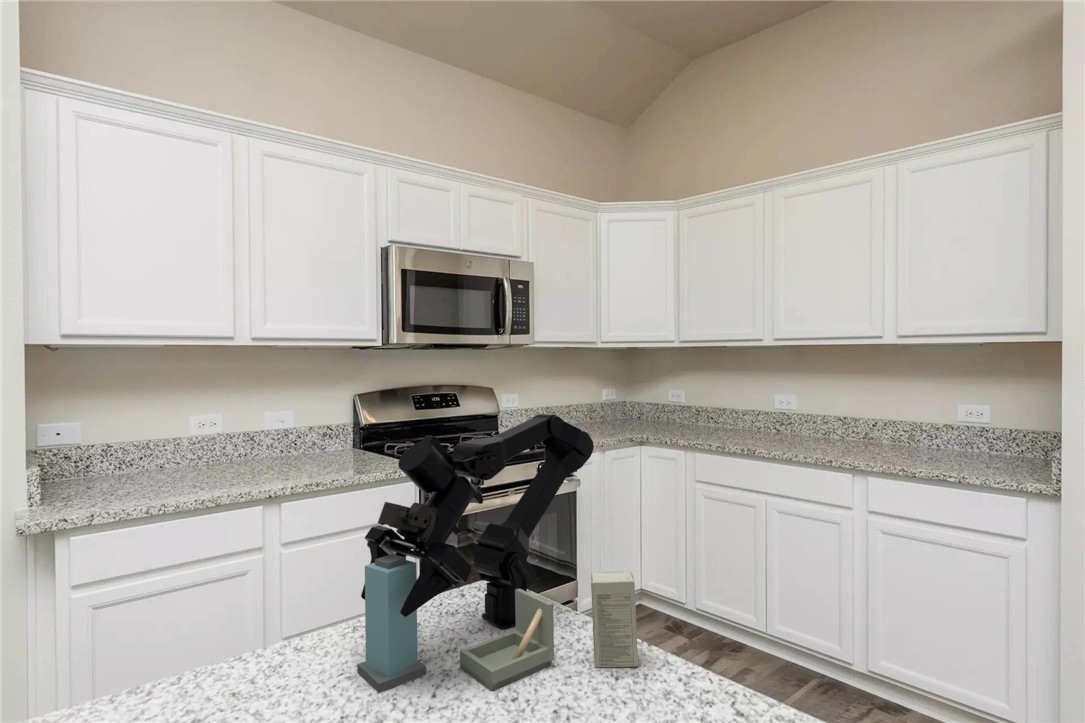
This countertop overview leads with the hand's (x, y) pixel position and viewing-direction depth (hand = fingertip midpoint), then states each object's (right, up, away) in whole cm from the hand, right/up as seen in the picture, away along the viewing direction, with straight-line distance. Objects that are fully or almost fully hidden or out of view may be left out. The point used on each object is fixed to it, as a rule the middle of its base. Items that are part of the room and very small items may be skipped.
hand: (382, 606), depth 82 cm
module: (+1, -9, +1) cm, 9 cm away
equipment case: (+17, -9, +2) cm, 19 cm away
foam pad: (+1, -10, +1) cm, 10 cm away
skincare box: (+33, -10, +4) cm, 34 cm away
